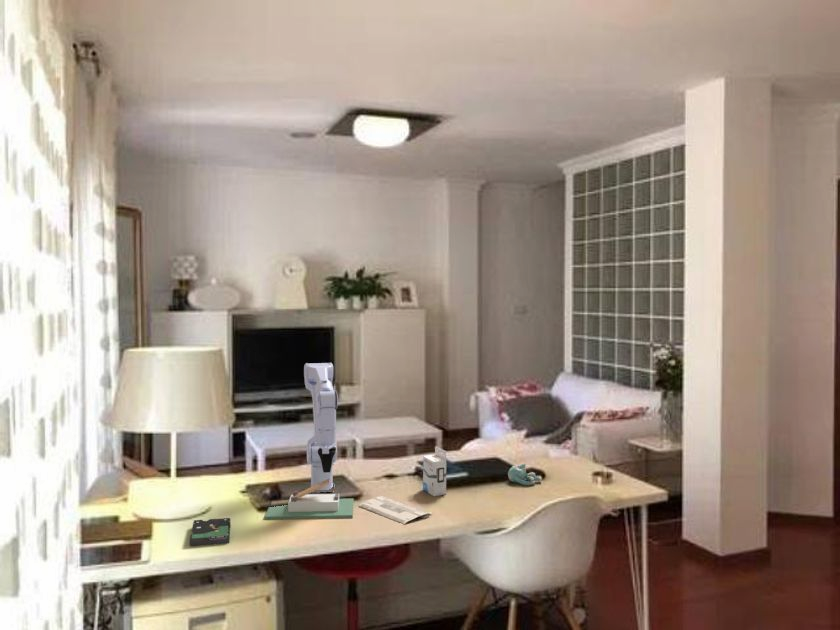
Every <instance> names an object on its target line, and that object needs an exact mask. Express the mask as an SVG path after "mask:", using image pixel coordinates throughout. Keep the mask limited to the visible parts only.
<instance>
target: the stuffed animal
mask: <svg viewBox="0 0 840 630" xmlns="http://www.w3.org/2000/svg"><path fill="white" fill-rule="evenodd" d="M507 477H508V479H509V481H511V482H512V483H515V484H520V485H522V486H531V485H532V486H533V485H534V484H535V483H536V481H537V482H539V483H540V482H542V481H543V477H542V476H541V475H536V472H529V473H527V470H526V463H522V464H520V465H516V466H515V465H512V466H511V467H510V468H509V470H508V472H507Z"/></svg>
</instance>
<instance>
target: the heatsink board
mask: <svg viewBox="0 0 840 630" xmlns="http://www.w3.org/2000/svg"><path fill="white" fill-rule="evenodd" d="M297 493H299V491H292V494H291V495H290V497H289V499H288V500H289V502H288V505H284V506H283V505H282V506H276V507H275V506H274V507H269V506H268V507H267V511H266V513H265V516H264V520H299V519H301V520H303V519H306V520H307V519H309V520H310V519H346V518H347V519H349V518H352V519H353V517H354V516H353V515H354V504H355V503H354V502H355V499H354V498H355V497H354V498H340V493H337V492H336V493H309V494H307V495H305V496H302V497H300V498H298V499H297V497H294V495H295V494H297Z"/></svg>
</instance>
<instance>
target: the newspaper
mask: <svg viewBox="0 0 840 630" xmlns="http://www.w3.org/2000/svg"><path fill="white" fill-rule="evenodd" d="M358 507H359V508H362V509H364V510H367V511H369V512H371V513H374V514H377V515H379V516H381V517H384V518H388V519H389V520H392V521H395V522H397V523H399V524H402V525H406V524H407V523H408V522H410V521H413V520H414V519H416V518H418V517H419V518H422V519H425V518H429V517H430V516H431V514H432V512H430V511H427V510H424V509H421V508H418V507H415V506H411V505H408V504H405V503H402V502H401V501H397V500H395V499H392V498H388V497H386V496H383V495H380V496H379V495H378V496H377V497H373V498H370V499H368V500H366V501H364V502H362V503H359V505H358Z"/></svg>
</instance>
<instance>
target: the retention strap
mask: <svg viewBox="0 0 840 630" xmlns="http://www.w3.org/2000/svg"><path fill="white" fill-rule="evenodd" d="M328 484H330V478H329V479H327V480H325V481H323V482H320V483H318V484H316V485H314V486H312V487H311V486H310V487H308V488H305V489H304V490H302V491H298V493H297V494H295V495H294V497H297V499H298V498H300V497H302V496H305V495H307V494H312V493H311V492H313V491H315V490H317V489H319V488H321V487H324V486H326V485H328Z"/></svg>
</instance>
